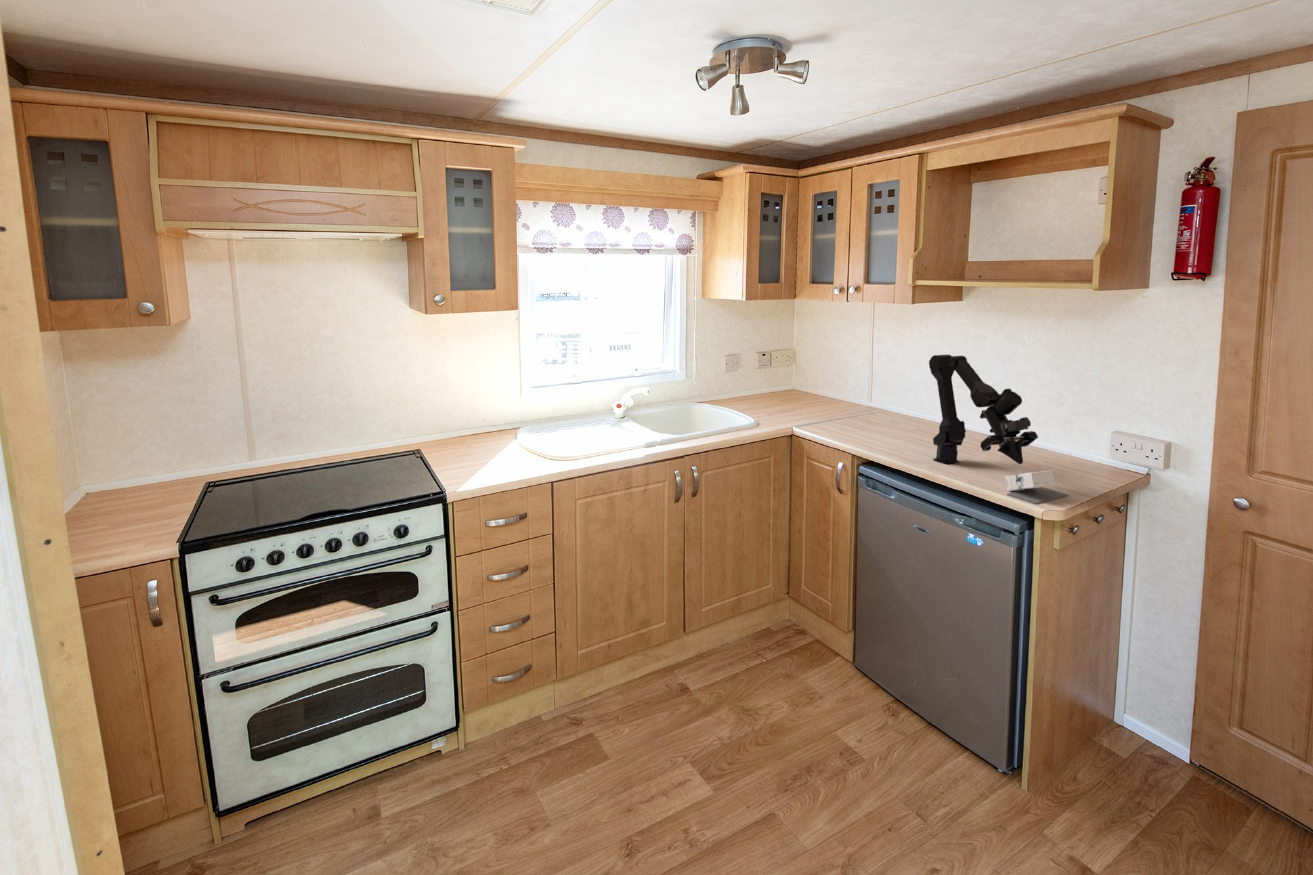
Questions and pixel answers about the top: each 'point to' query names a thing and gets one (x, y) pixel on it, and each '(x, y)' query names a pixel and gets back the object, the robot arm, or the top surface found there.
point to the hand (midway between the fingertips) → (1021, 463)
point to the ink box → (1030, 480)
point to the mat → (1037, 495)
